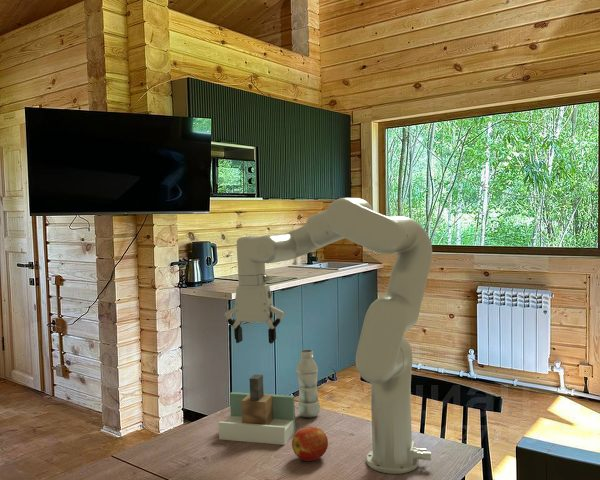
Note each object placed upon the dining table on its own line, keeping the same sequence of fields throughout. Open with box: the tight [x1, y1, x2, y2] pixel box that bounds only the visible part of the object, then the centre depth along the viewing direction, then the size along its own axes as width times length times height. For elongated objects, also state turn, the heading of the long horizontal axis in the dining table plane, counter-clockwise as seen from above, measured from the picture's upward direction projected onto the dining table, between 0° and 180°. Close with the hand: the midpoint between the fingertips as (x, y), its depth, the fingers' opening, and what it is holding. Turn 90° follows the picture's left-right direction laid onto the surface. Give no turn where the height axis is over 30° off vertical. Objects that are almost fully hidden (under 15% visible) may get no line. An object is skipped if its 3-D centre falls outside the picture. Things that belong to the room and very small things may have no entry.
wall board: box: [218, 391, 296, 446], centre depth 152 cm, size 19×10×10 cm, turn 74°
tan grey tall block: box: [241, 373, 273, 425], centre depth 152 cm, size 7×6×13 cm
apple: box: [291, 426, 329, 462], centre depth 136 cm, size 8×8×8 cm
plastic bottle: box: [296, 349, 321, 418], centre depth 165 cm, size 6×7×20 cm
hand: (255, 342), depth 151 cm, fingers open, 9 cm apart
